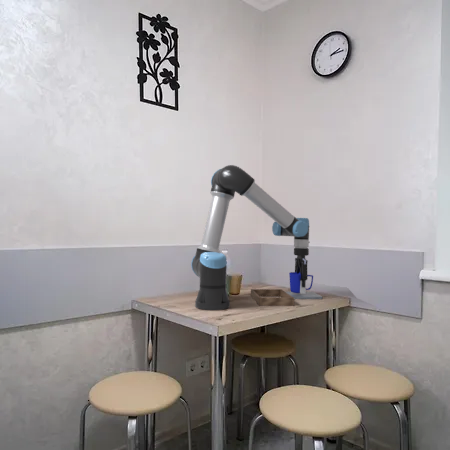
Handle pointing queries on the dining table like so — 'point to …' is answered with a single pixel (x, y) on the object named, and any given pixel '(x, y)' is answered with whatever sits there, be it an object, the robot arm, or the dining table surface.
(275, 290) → the crate
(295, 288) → the mug
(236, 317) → the dining table surface
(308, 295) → the board
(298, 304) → the dining table surface
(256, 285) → the dining table surface
